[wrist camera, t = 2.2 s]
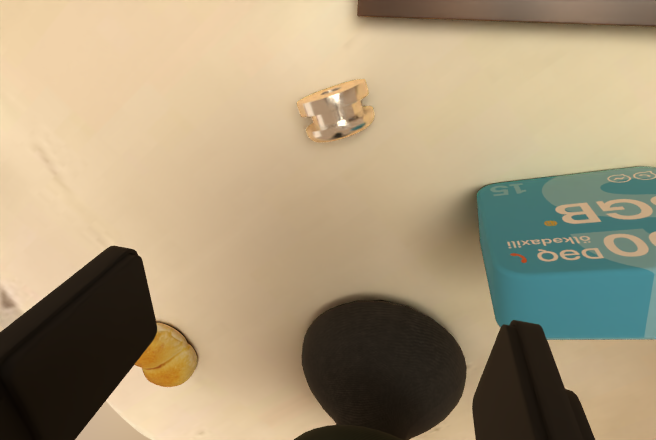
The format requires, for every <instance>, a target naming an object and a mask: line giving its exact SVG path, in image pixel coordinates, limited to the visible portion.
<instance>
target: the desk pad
mask: <svg viewBox="0 0 656 440" xmlns="http://www.w3.org/2000/svg"><path fill="white" fill-rule="evenodd" d="M357 15H358V16H364V17H392V18H421V19H449V20H478V21H507V22H535V23H564V24H593V25H621V26H650V27H656V0H358V12H357Z"/></svg>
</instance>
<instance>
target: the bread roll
mask: <svg viewBox="0 0 656 440" xmlns="http://www.w3.org/2000/svg"><path fill="white" fill-rule="evenodd" d="M156 324H157V333H156V336H155V338H154V340H153V341H152V343H151V344H150V345H149V347H148V348H147V349H146V350H145V352H144V353H143V354H142V355H141V357H140V358H139V359H138V360H137V362H136V363H135V365H136V366H139V367H141V368H142V369H143V373H144V375H145V377H146V378H147V380H149V381H150V382H152V383H154V384H156V385H159V386H163V387H172V386H178V385H180V384H182V383H184V382H185V381H187V380H188V379H189V378H190V376H191V375H192V374H193V372H194V370H195V368H196V365H197V356H196V353H195V350H194V349H193V347H192V346H191V345H190V344H187V342H186V339H185V337H184V336H183V335H182V334H181V333H179V332H178V331H177V330H176V329H174V328H172V327H170V326H168V325H166V324H163V323H156Z"/></svg>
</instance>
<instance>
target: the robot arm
mask: <svg viewBox="0 0 656 440" xmlns="http://www.w3.org/2000/svg"><path fill="white" fill-rule="evenodd" d="M156 333H157V324H156V319H155V315H154V310H153V306H152V302H151V297H150V293H149V288H148V284H147V279H146V275H145V270H144V266H143V261H142V258H141V257H140V256H138V254H137V252H136V251H135V250H133V249H129V248H124V247H118V246H110V247H109V248H107V249H106V250H104V251H103V252H102V253H101V254H99V255H98V256H97V257H95V258H94V259H93V260H92V261H90V262H89V263H88V264H87V265H85V266H84V267H83V268H82V269H80V270H79V271H78V272H76V273H75V274H74V275H73V276H71V277H70V278H69V279H68V280H66V281H65V282H64V283H62V284H61V285H60V286H59V287H57V288H56V289H55V290H54V291H52V292H51V293H50V294H48V295H47V296H46V297H45V298H43V299H42V300H41V301H40V302H38V303H37V304H36V305H34V306H33V307H32V308H31V309H29V310H28V311H27V312H26V313H24V314H23V315H22V316H20V317H19V318H18V319H17V320H15V321H14V322H13V323H12V324H10V325H9V326H8V327H6V328H5V329H4V330H3V331H1V332H0V440H75V439H76V438H77V436H78V435H79V434H80V432H81V431H82V430H83V429H84V427H85V426H86V425H87V424H88V422H89V421H90V420H91V418H92V417H93V416H94V415H95V413H96V412H97V411H98V410H99V408H100V407H101V406H102V405H103V403H104V402H105V401H106V400H107V398H108V397H109V396H110V395H111V393H112V392H113V391H114V390H115V388H116V387H117V386H118V384H119V383H120V382H121V381H122V379H123V378H124V377H125V376H126V374H127V373H128V372H129V371H130V369H131V368H132V367H133V366H134V364H135V363H136V362H137V360H138V359H139V358H140V357H141V355H142V354H143V353H144V352H145V350H146V349H147V348H148V347H149V345H150V344H151V343H152V341H153V340H154V338H155V336H156ZM472 410H473V419H474V427H475V435H476V440H595V438H594V436H593V433H592V431H591V428H590V425H589V423H588V420H587V418H586V415H585V413H584V410H583V408H582V405H581V403H580V401H579V399H578V397H577V395H576V394H575V393H574V392H573V391H570V390H566V389H565V388H564V385H563V382H562V380H561V377H560V374H559V371H558V369H557V366H556V363H555V361H554V358H553V355H552V352H551V350H550V347H549V344H548V341H547V339H546V336H545V333H544V331H543V328H542V326H540V325H539V324H534V323H529V322H523V321H518V320H512V321H511V323H510V324H509V325H505V324H503V325H502V326H501V328H500V331H499V333H498V336H497V338H496V341H495V344H494V346H493V349H492V351H491V354H490V356H489V359H488V361H487V364H486V366H485V369H484V371H483V374H482V377H481V379H480V382H479V384H478V387H477V389H476V392H475V394H474V398H473V406H472Z"/></svg>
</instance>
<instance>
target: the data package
mask: <svg viewBox="0 0 656 440" xmlns="http://www.w3.org/2000/svg"><path fill="white" fill-rule="evenodd" d="M477 207H478V221H479V235H480V244H481V249H482V254H483V259H484V264H485V269H486V274H487V279H488V284H489V289H490V294H491V299H492V304H493V309H494V314H495V319H496V321H497V323H498V325H499V326H500V327H501V326H502V325H503V324H505V325H509V324H510V323H511V321H512V320H518V321H523V322H529V323H534V324H539V325H540V326H542V328H543V331H544V333H545V336H546V339H547V340H609V339H656V168H655V167H630V168H621V169H612V170H604V171H595V172H587V173H578V174H570V175H561V176H553V177H544V178H536V179H527V180H519V181H510V182H502V183H495V184H490V185H487V186H485V187H483V188H481V189H480V190H479V191H478V193H477Z"/></svg>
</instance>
